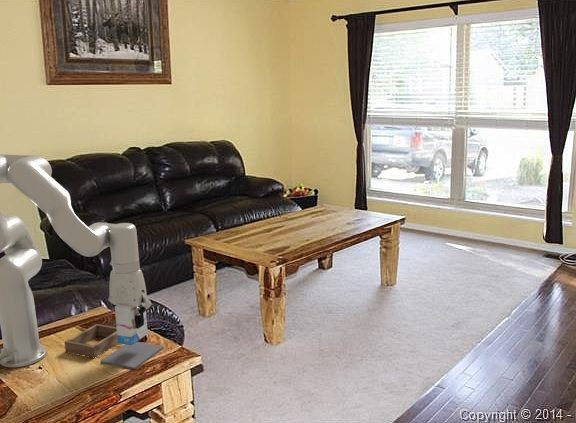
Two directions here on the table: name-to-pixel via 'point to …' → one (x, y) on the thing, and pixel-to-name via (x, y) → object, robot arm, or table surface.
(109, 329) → the frame
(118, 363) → the rubber mat
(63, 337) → the table surface
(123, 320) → the ink box
